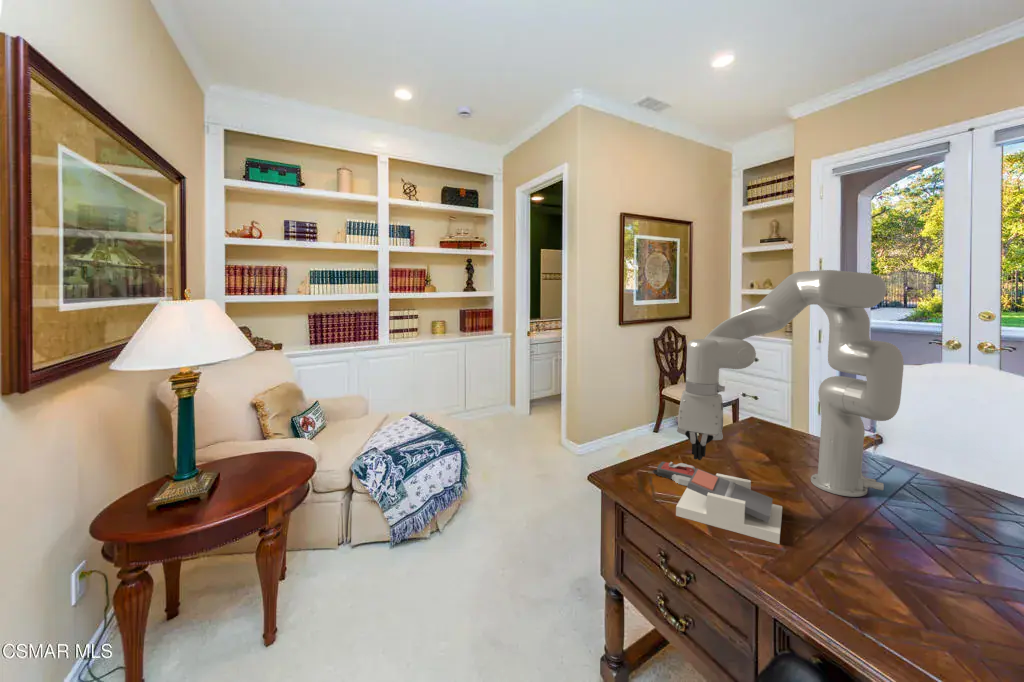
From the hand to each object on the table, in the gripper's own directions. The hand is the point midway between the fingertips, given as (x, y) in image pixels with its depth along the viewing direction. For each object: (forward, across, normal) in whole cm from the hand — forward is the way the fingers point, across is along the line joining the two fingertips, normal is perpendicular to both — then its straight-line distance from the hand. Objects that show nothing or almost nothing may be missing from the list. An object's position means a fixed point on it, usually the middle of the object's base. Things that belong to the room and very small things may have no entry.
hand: (698, 457), depth 106 cm
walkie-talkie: (+14, +5, -16) cm, 22 cm away
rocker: (+8, -7, 0) cm, 11 cm away
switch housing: (+14, -8, -1) cm, 16 cm away
